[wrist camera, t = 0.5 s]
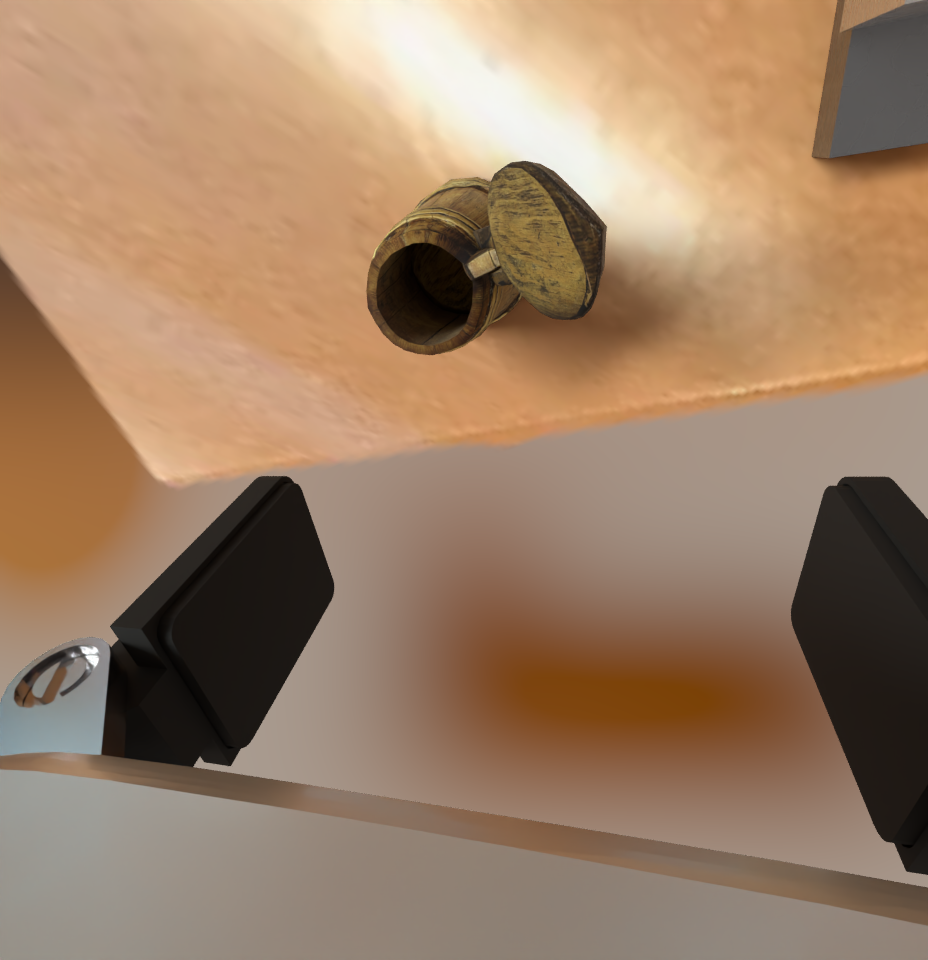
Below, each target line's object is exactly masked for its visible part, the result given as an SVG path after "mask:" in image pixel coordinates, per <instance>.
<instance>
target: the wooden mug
mask: <svg viewBox="0 0 928 960" xmlns="http://www.w3.org/2000/svg"><path fill="white" fill-rule="evenodd" d="M606 228H607V226H606V225H605V224H604V222H603V221H602V220H601V219H600V218H599V217H598V216H597V214H596V213H595V212H594V211H593V210H592V209H591V207H590V206H589V205H588V204H587V203H586V202H585V201H584V200H583V199H582V198H581V197H580V196H579V195H578V194H577V193H576V192H575V191H574V190H573V189H572V188H571V187H570V186H569V185H568V184H567V183H566V182H565V181H564V180H563V179H562V178H561V177H560V176H559V175H558V174H557V173H555V172H554V171H552V170H551V169H549V168H547V167H545V166H543V165H541V164H538V163H533V162H528V161H521V162H512V163H510V164H508V165H507V166H505V167H504V168H502V169H501V170H499V171H498V172H497V173H495V174H494V176H493V178H492V181H491V182H488V181H486V180H483V179H481V178H479V177H475V178H464V179H454V180H450V181H448V182H447V183H445V184H444V185H442V186H441V187H440V188H438V189H437V190H435V191H434V192H432V193H431V194H430V195H428V196H427V197H426V198H424V199H423V200H421V202H420V203H419V204H418V205H417V207H416V208H415V209H414V210H413V212H411V213H410V214H409V215H407V216H406V217H405V218H403V219H402V220H401V221H400V222H398V223H397V224H396V225H395V226H394V227H393V228H392V229H391V231H390V232H389V233H388V234H387V236H386V237H385V238H384V239H383V241H382V242H381V243H380V244H379V246H378V247H377V248H376V249H375V252H374V255H373V258H372V262H371V265H370V269H369V272H368V281H367V302H368V309H369V311H370V313H371V315H372V317H373V319H374V321H375V322H376V324H377V325H378V327H379V328H380V330H381V331H382V333H383V334H384V335H385V336H386V337H387V338H388V339H389V340H390V341H391V342H392V343H393V344H395V345H396V346H398V347H400V348H402V349H403V350H406V351H410V352H413V353H417V354H425V355H435V354H441V353H445V352H450V351H453V350H456V349H458V348H461V347H463V346H465V345H466V344H468V343H469V342H470V341H472V340H474V339H475V338H477V337H479V336H480V335H481V334H482V333H483V332H484V331H485V330H486V328H487V327H488V326H489V325H490V324H492V323H494V322H496V321H498V320H500V319H501V318H502V317H504V316H505V315H506V314H507V313H509V312H510V311H511V310H512V309H513V308H514V307H515V306H516V304H517V303H518V302H519V301H520V299H521V298H522V297H524V298H525V299H526V300H527V301H528V302H529V303H530V304H531V305H533V306H534V307H535V308H536V309H537V310H538V311H539V312H540V313H542V314H544V315H546V316H548V317H551V318H553V319H561V320H572V319H578V318H581V317H583V316H584V315H585V314H586V313H587V312H588V311H589V310H590V309H591V308H592V305H593V303H594V300H595V298H596V295H597V292H598V287H599V283H600V279H601V276H602V272H603V269H604V263H605V242H606Z"/></svg>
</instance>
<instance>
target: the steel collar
mask: <svg viewBox="0 0 928 960" xmlns="http://www.w3.org/2000/svg"><path fill="white" fill-rule="evenodd" d="M926 14H928V0H845V3H844V9H843V15H842V21H841V27H840V32H845V31H850V30H854V29H859V28H864V27H869V26H874V25H878V24H883V23H888V22H893V21H898V20H902V19H907V18H912V17H917V16H922V15H926Z"/></svg>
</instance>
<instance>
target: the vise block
mask: <svg viewBox="0 0 928 960" xmlns="http://www.w3.org/2000/svg"><path fill="white" fill-rule="evenodd" d="M844 3H845V0H838V2H837V8H836V14H835V20H834V26H833V32H832V38H831V44H830V50H829V56H828V62H827V68H826V74H825V80H824V86H823V92H822V99H821V105H820V111H819V117H818V123H817V129H816V135H815V141H814V147H813V153H812V157H820V158H834V157H840V156H847V155H853V154H860V153H866V152H872V151H879V150H885V149H892V148H898V147H905V146H911V145H917V144H924V143H928V14H926V15H922V16H917V17H912V18H907V19H902V20H898V21H893V22H888V23H883V24H878V25H874V26H869V27H864V28H859V29H854V30H850V31H845V32H840V27H841V21H842V15H843V9H844Z"/></svg>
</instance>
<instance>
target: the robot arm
mask: <svg viewBox="0 0 928 960" xmlns="http://www.w3.org/2000/svg"><path fill="white" fill-rule="evenodd" d="M333 594H334V582H333V578H332V575H331V572H330V570H329V567H328V564H327V561H326V558H325V555H324V552H323V550H322V547H321V544H320V541H319V538H318V535H317V532H316V529H315V527H314V524H313V521H312V518H311V515H310V512H309V509H308V506H307V504H306V501H305V498H304V495H303V492H302V490H301V488H300V486H299V485H298V484H295V483H294V482H293V481H292V479H291V478H289V477H287V476H262V477H258V478H257V479H256V480H254V481H253V482H252V484H250V485H249V487H248V488H247V489H246V490H245V491H244V492H243V493H242V494H241V495H240V496H239V497H238V498H237V499H236V500H235V501H234V502H233V503H232V504H231V505H230V506H229V507H228V508H227V509H226V510H225V511H224V512H223V513H222V514H221V515H220V516H219V517H218V518H217V519H216V520H215V521H214V522H213V523H212V524H211V525H210V526H209V527H208V528H207V529H206V530H205V531H204V532H203V533H202V534H201V535H200V536H199V537H198V538H197V539H196V540H195V541H194V542H193V543H192V544H191V545H190V546H189V547H188V548H187V549H186V550H185V551H184V552H183V553H182V554H181V555H180V556H179V557H178V558H177V559H176V560H175V561H174V562H173V563H172V564H171V565H170V566H169V567H168V568H167V569H166V570H165V571H164V572H163V573H162V574H161V575H160V576H159V577H158V578H157V579H156V580H155V581H154V583H152V584H151V585H150V586H149V587H148V588H147V589H146V590H145V591H144V592H143V593H142V595H140V596H139V598H138V599H136V600H135V601H134V603H132V604H131V606H130V607H129V608H128V609H127V610H126V611H125V612H124V613H123V614H122V615H121V616H120V617H119V618H118V619H117V620H116V621H115V622H114V623H113V624H112V625H111V626H110V627H111V629H112V630H113V631H114V633H115V634H116V636H117V637H118V638H119V640H118V641H117V642H116V643H115V644H114V645H113V646H112V647H110V645H109V644H108V643H107V642H105V641H104V640H103V639H101V638H95V637H87V638H79V639H76V640H72V641H69V642H66V643H63V644H61V645H59V646H57V647H55V648H53V649H51V650H49V651H47V652H45V653H44V654H42V655H41V656H39V657H38V658H36V659H35V660H33V661H32V662H31V663H29V664H28V665H27V666H26V667H25V668H24V669H22V670H21V671H20V672H19V673H18V674H17V675H16V676H15V678H14V679H13V680H12V681H11V682H10V683H9V685H8V686H7V688H6V690H5V692H4V694H3V696H2V698H1V702H0V960H928V888H927V887H921V886H916V885H910V884H905V883H899V882H894V881H888V880H882V879H877V878H871V877H866V876H860V875H855V874H849V873H844V872H838V871H833V870H827V869H822V868H816V867H810V866H805V865H799V864H794V863H788V862H782V861H777V860H771V859H765V858H759V857H753V856H747V855H741V854H734V853H728V852H722V851H716V850H710V849H704V848H698V847H691V846H686V845H680V844H674V843H667V842H662V841H655V840H649V839H643V838H637V837H631V836H625V835H619V834H613V833H606V832H601V831H594V830H588V829H582V828H576V827H570V826H564V825H558V824H552V823H545V822H539V821H532V820H527V819H520V818H514V817H508V816H502V815H495V814H489V813H483V812H477V811H470V810H464V809H458V808H452V807H445V806H439V805H432V804H426V803H420V802H414V801H408V800H401V799H395V798H389V797H381V796H376V795H370V794H363V793H357V792H351V791H344V790H338V789H331V788H325V787H318V786H312V785H306V784H299V783H292V782H286V781H279V780H273V779H266V778H260V777H253V776H246V775H240V774H234V773H227V772H221V771H214V770H208V769H201V768H194V767H193V766H194V764H195V763H196V761H197V760H198V758H199V757H201V758H202V760H203V761H204V762H207V763H213V764H220V765H226V766H231V765H232V763H233V761H234V759H235V758H236V756H237V754H238V753H239V751H240V749H241V748H244V747H246V746H247V745H248V744H249V743H250V742H251V740H252V739H253V737H254V736H255V734H256V732H257V730H258V729H259V727H260V725H261V723H262V721H263V720H264V718H265V716H266V714H267V713H268V711H269V709H270V707H271V706H272V704H273V702H274V700H275V699H276V696H277V695H278V693H279V691H280V690H281V688H282V686H283V684H284V683H285V681H286V679H287V677H288V676H289V674H290V672H291V670H292V669H293V667H294V665H295V663H296V662H297V660H298V658H299V656H300V654H301V653H302V651H303V649H304V647H305V646H306V644H307V642H308V640H309V639H310V637H311V635H312V633H313V632H314V630H315V628H316V626H317V624H318V623H319V621H320V619H321V617H322V615H323V614H324V612H325V610H326V609H327V607H328V605H329V603H330V602H331V600H332V597H333ZM791 620H792V625H793V628H794V631H795V634H796V636H797V639H798V641H799V643H800V646H801V648H802V651H803V653H804V655H805V658H806V660H807V663H808V665H809V668H810V670H811V673H812V675H813V677H814V680H815V682H816V685H817V687H818V690H819V692H820V695H821V697H822V699H823V702H824V704H825V707H826V709H827V712H828V714H829V716H830V719H831V721H832V724H833V726H834V729H835V731H836V734H837V736H838V738H839V741H840V743H841V746H842V748H843V751H844V753H845V756H846V758H847V760H848V763H849V765H850V768H851V770H852V773H853V775H854V777H855V780H856V782H857V785H858V787H859V790H860V792H861V795H862V797H863V799H864V802H865V804H866V807H867V809H868V812H869V814H870V816H871V819H872V821H873V824H874V826H875V828H876V830H877V832H878V834H879V835H880V836H881V838H882V839H883V840H885V841H886V842H892V843H894V844H895V846H896V848H897V851H898V853H899V855H900V858H901V860H902V862H903V865H904V867H905V869H906V871H907V872H913V873H919V874H926V875H928V519H927V518H926V517H925V516H924V514H923V513H922V512H921V511H920V510H919V509H918V508H917V507H916V505H915V504H914V503H913V502H912V501H911V500H910V499H909V497H907V495H906V494H905V493H904V492H903V491H902V490H901V489H900V487H899V486H898V485H897V484H896V483H895V482H894V481H893V480H892V479H891V478H889V477H844V478H842V479H841V480H840V481H839V483H838V485H837V486H829V487H827V488H826V490H825V492H824V494H823V498H822V501H821V505H820V508H819V512H818V515H817V519H816V523H815V526H814V530H813V533H812V537H811V540H810V544H809V547H808V550H807V554H806V558H805V561H804V565H803V568H802V572H801V575H800V579H799V582H798V586H797V589H796V593H795V597H794V600H793V603H792V608H791Z"/></svg>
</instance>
